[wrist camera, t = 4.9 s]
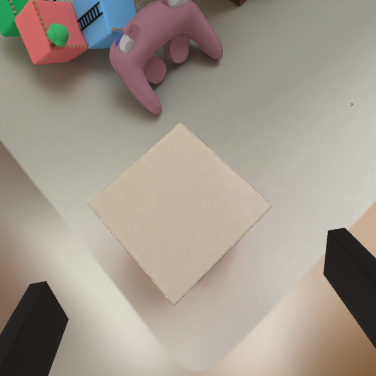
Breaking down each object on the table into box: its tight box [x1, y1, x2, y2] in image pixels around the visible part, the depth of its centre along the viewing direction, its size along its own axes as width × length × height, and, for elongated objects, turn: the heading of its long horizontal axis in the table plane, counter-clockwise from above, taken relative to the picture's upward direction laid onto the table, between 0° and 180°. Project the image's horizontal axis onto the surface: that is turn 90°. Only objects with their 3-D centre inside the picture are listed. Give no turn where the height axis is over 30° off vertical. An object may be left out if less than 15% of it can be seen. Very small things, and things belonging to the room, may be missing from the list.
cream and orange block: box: [88, 123, 272, 306], centre depth 16 cm, size 6×6×11 cm
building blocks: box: [0, 0, 137, 65], centre depth 25 cm, size 8×8×12 cm
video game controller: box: [109, 0, 223, 115], centre depth 24 cm, size 10×5×7 cm, turn 135°
